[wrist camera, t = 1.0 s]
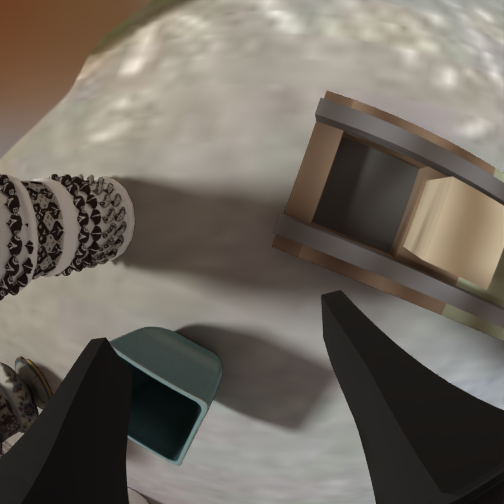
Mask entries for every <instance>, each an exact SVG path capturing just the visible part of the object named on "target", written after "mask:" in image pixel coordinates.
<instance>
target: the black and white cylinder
mask: <svg viewBox="0 0 504 504" xmlns="http://www.w3.org/2000/svg"><path fill="white" fill-rule="evenodd" d="M134 225H135V217H134V209H133V203H132V201H131V199H130V197H129V195H128V193H127V190H126V189H125V188H124V187H123V186H122V185H121V184H120V183H119V182H117V181H116V180H115V179H111V178H107V177H104V176H101V177H98V178H94V176H93V175H90V176H89V177H88V178H87V180H86V181H84V179H83V175H81V174H80V175H78V177H77V176H76V177H73V178H71V176H70V175H64V176H61V177H58V175H57V174H53V175H51V176H50V177H49V178H36V179H34V180H31V181H20V180H19V179H18V178H15V177H12V176H9V175H0V300H2V299H3V298H4V296H6V295H7V294H8V293H10V294H12V295H17V294H18V292H19V291H20V290H23V289H24V288H25V287H26V286H27V285H28V284H29V283H30V281H31V280H32V279H37V278H39V277H50V276H53V275H54V276H59V275H61V273H62V274H63V275H65V276H68V275H70V273H71V271H72V270H75V271H78V272H80V271H82V269H83V268H85V267H88V268H94V267H95V266H96V265H97V264H105V263H106V262H107V261H108V260H114V259H115V258H117V257H118V256H120V255H121V254H122V253H124V252H125V250H126V248H127V247H128V245H129V243H130V242H131V240H132V236H133V231H134Z"/></svg>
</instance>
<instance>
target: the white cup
mask: <svg viewBox="0 0 504 504" xmlns="http://www.w3.org/2000/svg"><path fill="white" fill-rule="evenodd" d="M127 488H128V487H127ZM128 497H129V504H149V503H148V502H147V500H146V499H145V498H144V497H142V496H141V495H140V494H139V493H137V492H136V491H134V490H132V489H130V488H128Z"/></svg>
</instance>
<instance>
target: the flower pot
mask: <svg viewBox="0 0 504 504" xmlns="http://www.w3.org/2000/svg"><path fill="white" fill-rule="evenodd" d="M109 343H110V344H111V346H112V347H113V348H114V350H115V351H116V353H117V354H118V355H119V357H120V358H121V359H122V361H123V362H124V363H125V365H126V366H127V367H128V369H129V370H130V371H131V372H132V401H131V410H130V419H129V428H128V438H129V439H131V440H132V441H134V442H135V443H137V444H139V445H140V446H142V447H144V448H145V449H147V450H149V451H151V452H152V453H154V454H156V455H157V456H159V457H161V458H163V459H164V460H166V461H168V462H170V463H172V464H174V465H177V466H179V465H181V464H182V462H183V459H184V457H185V455H186V453H187V451H188V449H189V447H190V445H191V443H192V441H193V439H194V437H195V435H196V433H197V431H198V429H199V427H200V425H201V423H202V421H203V419H204V417H205V416H206V414H207V412H208V410H209V407H210V405H211V403H212V401H213V398H214V396H215V393H216V391H217V388H218V386H219V383H220V381H221V377H222V364H221V361H220V360H219V358H218V357H217V355H216V354H215V353H213V352H211V351H209V350H207V349H205V348H203V347H202V346H200V345H198V344H196V343H194V342H192V341H190V340H188V339H187V338H185V337H183V336H181V335H180V334H178V333H176V332H174V331H171V330H168V329H165V328H160V327H144V328H141V329H138V330H135V331H133V332H130V333H128V334H126V335H123V336H121V337H119V338H116V339H114V340H112V341H109Z"/></svg>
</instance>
